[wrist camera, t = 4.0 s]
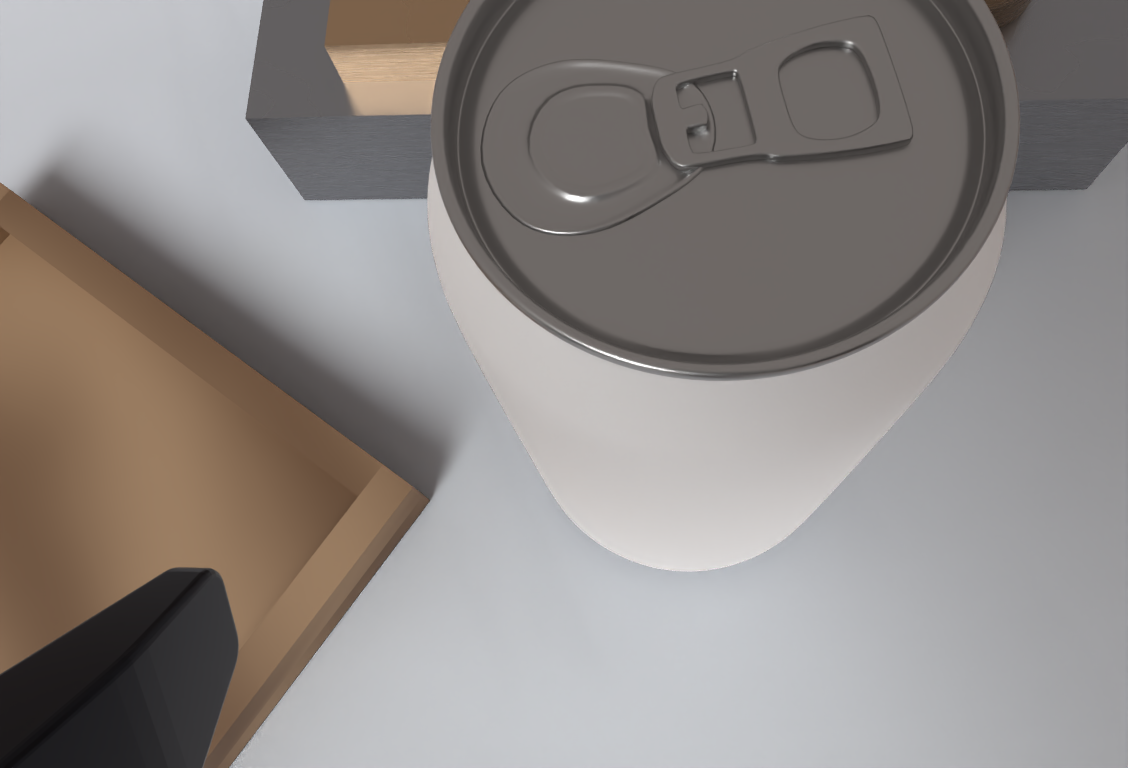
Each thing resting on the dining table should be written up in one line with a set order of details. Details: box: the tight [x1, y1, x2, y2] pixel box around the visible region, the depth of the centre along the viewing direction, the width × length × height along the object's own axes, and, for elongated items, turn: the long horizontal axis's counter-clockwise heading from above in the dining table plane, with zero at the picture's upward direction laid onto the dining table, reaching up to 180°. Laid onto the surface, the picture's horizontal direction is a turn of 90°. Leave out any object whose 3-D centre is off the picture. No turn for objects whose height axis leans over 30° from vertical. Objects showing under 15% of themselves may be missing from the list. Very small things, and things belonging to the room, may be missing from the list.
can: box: [427, 0, 1020, 571], centre depth 15 cm, size 6×6×12 cm
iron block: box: [246, 0, 1128, 200], centre depth 20 cm, size 18×6×6 cm, turn 88°
